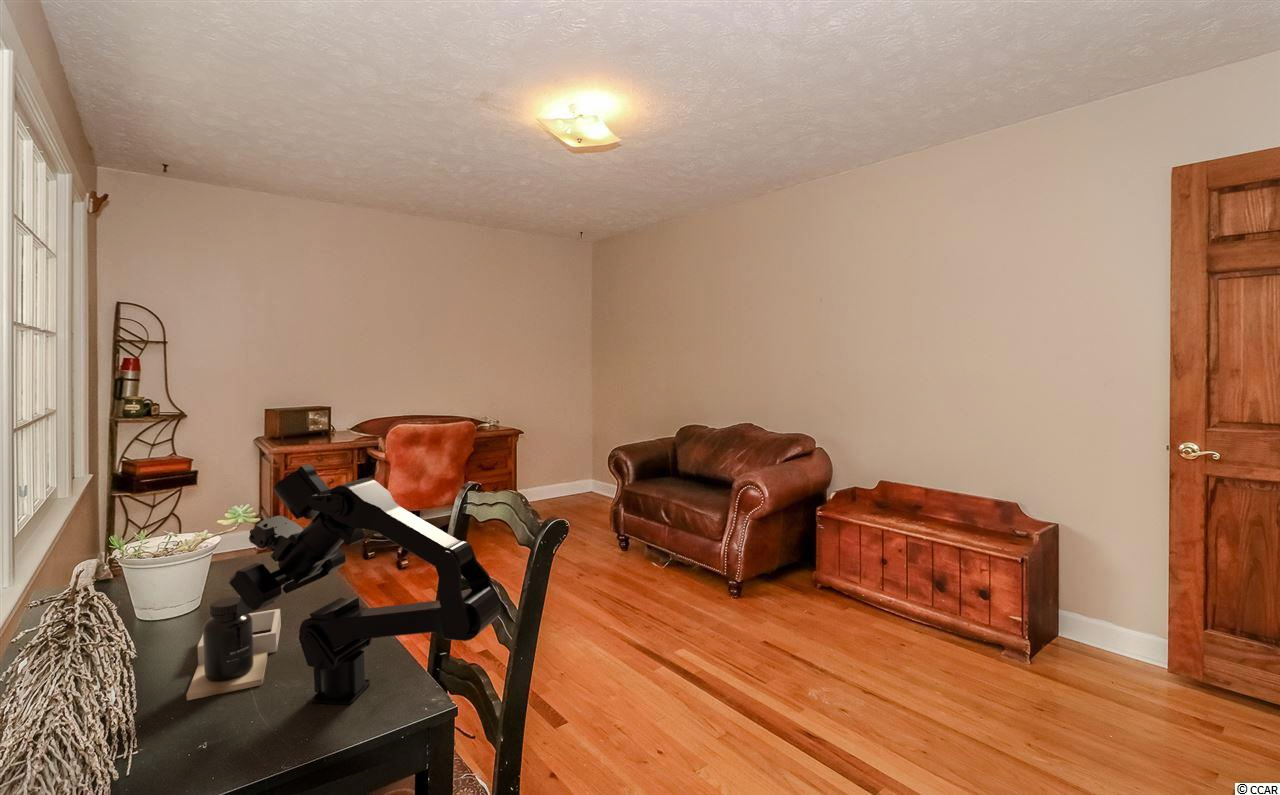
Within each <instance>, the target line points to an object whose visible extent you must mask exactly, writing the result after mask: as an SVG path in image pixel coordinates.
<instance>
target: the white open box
mask: <svg viewBox="0 0 1280 795" xmlns="http://www.w3.org/2000/svg"><path fill="white" fill-rule="evenodd" d="M248 614H249V615H250V616H251V617H252V622H253V633H257V632H262V631H269V630H270V631H269V632H265V633H258V634H253V655H254V654H259V653H265V652H267V654H272V653H276V652H278V644H279V639H280V633H281V624H282V623H281V621H282V620H281V618H282V617H281V608H277V609H271V610H264V611H263V610H262V611H259V612H258V611H257V612H251V613H248ZM197 662H198V665H201V664H204V645H203V634H202V636H201V638H200V640H199V642H198V644H197ZM198 665H197V666H198Z"/></svg>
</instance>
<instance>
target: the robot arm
mask: <svg viewBox="0 0 1280 795" xmlns="http://www.w3.org/2000/svg"><path fill="white" fill-rule="evenodd" d="M272 490H273V492H274V493H275V495H276V496H277V497H278V498H279V500H280V501H281V502H282V503H283V505H284V506H285V507H286V508H287V509H288V510H289V512H290V513H291V514H292V516H293V517H294V518H295V519H296V520H299V519H301V518H305V520H310V519H312V520H310V522H309V523H308V524H307V526H306V527H305V528H302V527H301V525H299V524H298V523H296V522H295V521H293V520H291V519H289V518H287V517H286V516H283V515H275V516H272V517H269V518H266V519H262V520H261V521H260V522H259V523H257V524H255V525H254V527H253V528H252V529H250V530H249V537H248V540H249V542H250V544H252V545H255V546H256V547H257V548H259V549H262V548H267V549H268V550H270V551H272V553H271V554H270V556H269V557H270V558H271V559H272V560H273V561H274V562H278V563H277V566H278V569H277V570H274V571H273V572H271V571H270V570H269V569H268V568H267V567H266V566H265V565H264V563H258V562H257V563H256V562H255V563H252V564H250V565H248V566H245V567H243V568H240V569H239V570H237V571H235V572H234V573H233V575H231V577H230V578H229V582H228V583H229V585H230V587H232V588H233V589H234V591H235V592H236V593H237V595H238V596H239V597H240V600H239V603H238V607H237V610H236V612H237V614H238V615H239V616H243V615H246V614H250V613H254V612H256V611H258V610H259V611H260V610H261V609H264V608H265V607H267V606H269V605H271V604H273V603H275V601H276V600H277V599H278V598H279V597H280V596H281V595H282V593H283V592H284V593H285V594H289V593H291V592H293V591H296V590H297V589H298V590H299V589H301V588H302V587H305V586H307V585H309V584H311V583H313V582H316V581H318V580H320V579H322V578H324V577H327V576H328V575H330V574H333V572H336V571H337V570H339V569H341V567H342V566H343V565H344V564H345V563H346V554H345V553H344V552H343V550H342V549H341V548H340V546H341V545H342V544H343V543H345V544H346V546H351V545H353V544H357V543H359V542H361V541H363V540H365V538H366V536H365V530H366V531H372V532H375V533H377V534H378V535H381V536H382V537H384V538H386V539H387V540H390V541H391V542H393V543H394V544H395V545H397V546H399V547H401V548H403V549H404V550H406V551H408V552H410V553H411V554H412V555H414V556H416V557H417V558H420V559H421V560H423V561H424V562H426V563H428V564H429V565H431V566H433V567H435V570H436V573H437V577H438V588H439V589H438V596H439V597H438V600H429V601H424V602H423V601H422V602H421V601H420V602H414V603H413V602H411V603H404V604H402V603H401V604H395V605H384V606H376V607H367V608H366V607H364V606H362V604H360V597H359V596H355V597H352V598H344V597H339V598H338V599H336V600H333V601H332V602H330V603H328V604H326V605H324V606H322V607H320V608H319V609H317V610H314V611H312V612H311V613H309V617H306V618H305V619H304V620H302V621H301V624H300V625H299V630H298V631H299V632H298V633H299V635H298V641H299V643H300V647H301V649H302V652H303V656H304V657H305V658H304V659H305V661H306V665H307V666H308V667H311V668H313V689H314V690H313V691H314V693H315V694H314V695H313V696H312V697H311V698H310V702H311V703H313V704H314V703H315V704H335V705H350V704H353V702H354V701H355V700H356V699H357V698H358V697H359V696H360V695H361V694H362V693H363V692H364V690H365V689H366V688H367V687H368V686H369V685H370V684H371V679H368V678H366V672H365V671H366V668H365V667H366V666H365V665H366V664H365V650H364V649H365V648H366V647H369V646H370V645H371V644H372V641H373V639H377V638H380V639H381V638H388V637H389V638H390V637H398V636H408V635H409V636H411V635H420V634H431V633H432V634H436V635H438V636H439V637H441V638H442V639H444V640H447V641H449V640H450V641H457V642H458V641H459V642H467V641H472V640H473V639H474V638H476V637H477V636H478V635H479V634H480V633H482V631H484V630H485V629H486V628H487V627H489V625H491V624H492V623H493V622H494V621H496V620H497V618H498V617H499V615H500V614H501V610H502V604H501V600H500V597H499V596H498V594H497V592H496V590H495V588H494V585H493V581H492V579H491V576H490V574H489V573H488V572H487V571H486V570H485V568H484V566H482V565H481V563H480V562H479V561H478V559H477V556H476V555H475V552H474V549H473V547H472V546H471V545H472V544H470V543H469V542H467V541H464V540H459V539H457V538H456V537H454V536H452V535H450V534H448V533H447V532H445V531H443V530H442V529H441V528H438V527H436V526H435V525H433V524H431V523H429V522H428V521H425V520H424V519H422V518H421V517H419V516H417V515H416V514H413V512H410V511H408V510H407V509H405V508H403V507H402V506H400V505H399V504H398V503H396V502H395V500H394V498H393V496H392V494H391V492H390V491H389V490H387V488H385V487H384V486H382V484H380V483H379V482H378V481H376V480H375V479H373V478H370V477H363V478H360V479H357V480H353V481H350V482H349V481H348V482H346V483H342V484H340V485H337V486H335V487H332V488H330V487H329V486H328V485H327V484H326V483H325V481H324V480H323V479H322V478H321V477H320V476H319V474H318V472H317V471H316V469H315V467H314V466H313V465H312V464H305V465H301V466H299V468H298V469H296V471H295V470H294V472H291V473H290V474H287V475H286V476H285V477H283V478H282V479H280V480H278V481H277V483H275V485H274V487H273V489H272ZM462 577H463V578H464V580H466V581H467V582H468V584H469V585H468V586H469V588H468V589H464V590H463V588H462V586H463V585H462V584H463V583H462ZM282 591H283V592H282Z"/></svg>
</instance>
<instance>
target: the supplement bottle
mask: <svg viewBox="0 0 1280 795" xmlns="http://www.w3.org/2000/svg"><path fill="white" fill-rule="evenodd" d="M239 600H240V596H237V595H236V596H227V597H223V598H219V599H217V600H214V601H213V602H211V603H210V605H209V617H210V618H209V619H208V620H207V621H206V622H205V623H204V625H203V628H202V635H203V645H204V672H205V677H206V678H207V679H208V680H210V681H227V680H231V679H235V678H238V677H240V676H242V675H244V674H246V673H247V672H249V671H250V670H251V669H252V667H253V663H254V659H253V658H254V656H253V635H254V632H253V622H252V617H251V616H250V615H249V614H250V613H248V614H246V615H243V616H239V615H238V614H237V612H236V610H237V607H238V603H239Z"/></svg>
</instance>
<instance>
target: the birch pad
mask: <svg viewBox="0 0 1280 795" xmlns="http://www.w3.org/2000/svg"><path fill="white" fill-rule="evenodd" d="M253 656H254V658H253V659H254V663H253V667H252V669H251V670H250V671H249V672H247V673H246V674H244V675H242V676H240V677H238V678H235V679H231V680H227V681H210V680H208V679H207V678H206V677H205V672H204V664H201V665H197V667H196V669H195V672H194V675H193V678H192V680H191V682H190V685H189V688H188V690H187V692H186V701H191V700H197V699H202V698H205V697H209V696H214V695H216V696H217V695H220V694H224V693H225V694H226V693H229V692H235V691H239V690H244V689H248V688H253V687H254V688H255V687H258V686H263V682H264V678H265V672H266V668H267V667H266V666H267V663H268V662H267V661H268V653H267V652H265V653H259V654H254V655H253Z"/></svg>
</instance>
